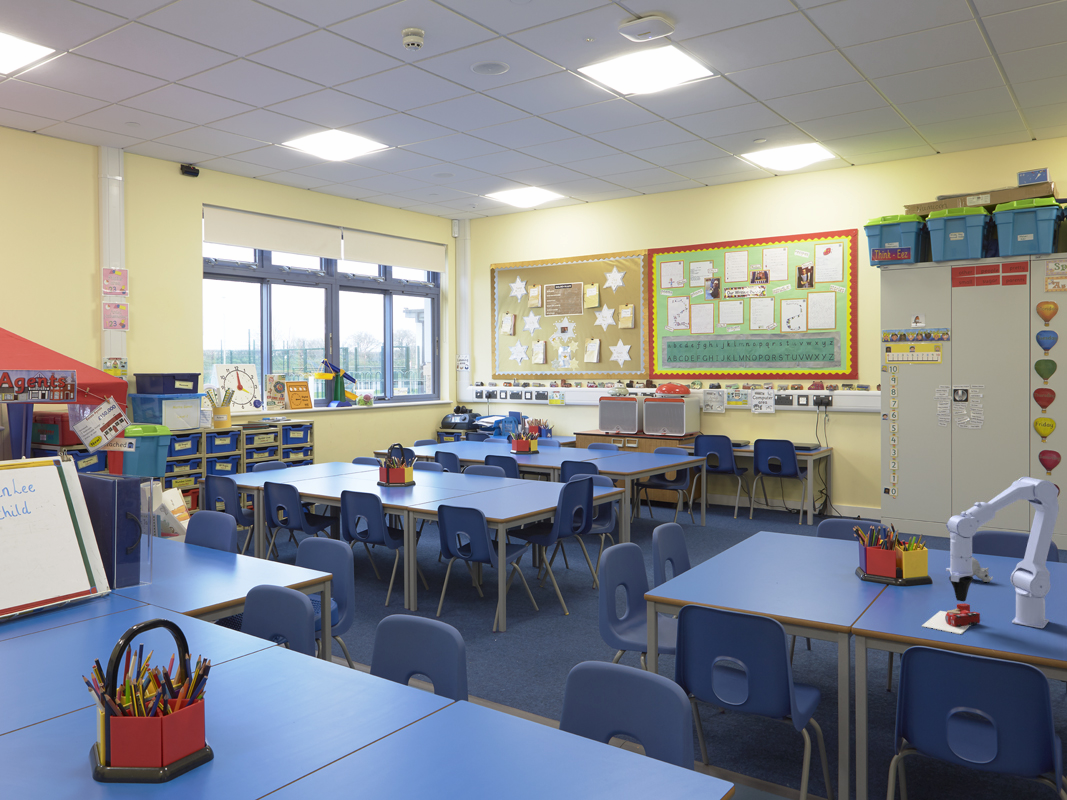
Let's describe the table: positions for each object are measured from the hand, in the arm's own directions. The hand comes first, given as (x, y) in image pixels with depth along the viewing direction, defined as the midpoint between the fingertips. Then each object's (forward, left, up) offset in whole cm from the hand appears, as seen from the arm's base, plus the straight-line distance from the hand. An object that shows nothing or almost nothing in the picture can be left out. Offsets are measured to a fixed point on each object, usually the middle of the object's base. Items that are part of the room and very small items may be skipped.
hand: (961, 600), depth 226 cm
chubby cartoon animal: (-56, -10, -8) cm, 57 cm away
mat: (0, -3, -7) cm, 8 cm away
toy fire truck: (-1, +3, -5) cm, 6 cm away
